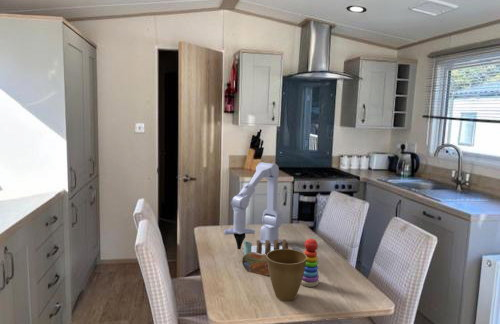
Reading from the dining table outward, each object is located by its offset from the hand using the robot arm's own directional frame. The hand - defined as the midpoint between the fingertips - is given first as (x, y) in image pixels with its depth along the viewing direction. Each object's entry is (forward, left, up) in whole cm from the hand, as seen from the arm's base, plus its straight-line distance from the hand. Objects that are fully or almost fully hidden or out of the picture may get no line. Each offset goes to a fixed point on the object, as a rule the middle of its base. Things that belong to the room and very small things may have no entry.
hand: (239, 248), depth 180 cm
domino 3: (+10, +10, -4) cm, 15 cm away
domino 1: (+3, +3, -4) cm, 6 cm away
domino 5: (+16, +16, -4) cm, 23 cm away
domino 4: (+13, +13, -4) cm, 19 cm away
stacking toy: (+39, -5, -4) cm, 40 cm away
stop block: (+20, +20, -4) cm, 29 cm away
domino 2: (+7, +7, -4) cm, 11 cm away
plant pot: (+37, -21, -4) cm, 43 cm away
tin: (+17, -9, -4) cm, 20 cm away
